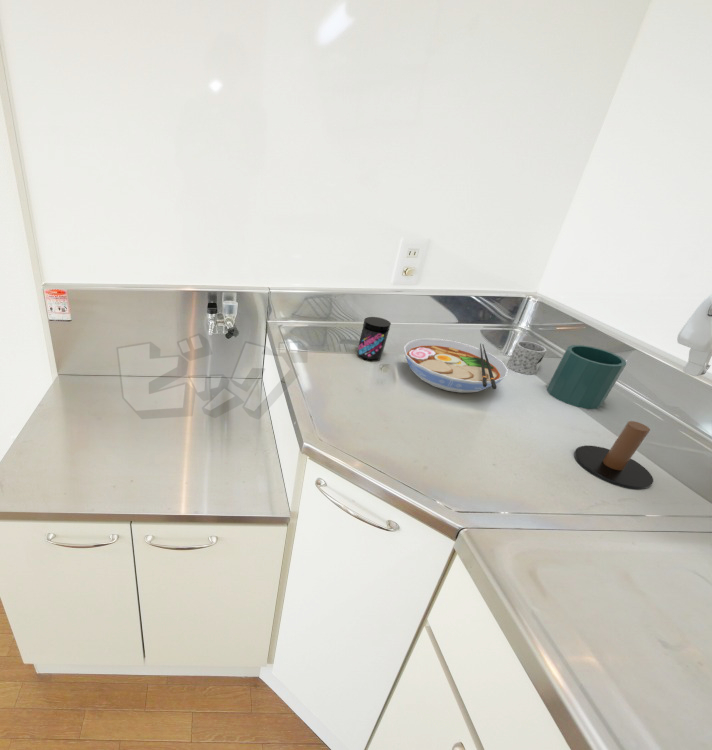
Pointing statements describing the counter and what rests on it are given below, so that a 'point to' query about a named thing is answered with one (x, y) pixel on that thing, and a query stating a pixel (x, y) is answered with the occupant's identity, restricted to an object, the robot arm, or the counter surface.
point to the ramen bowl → (454, 365)
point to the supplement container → (373, 338)
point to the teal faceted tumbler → (585, 376)
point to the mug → (526, 357)
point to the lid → (618, 459)
